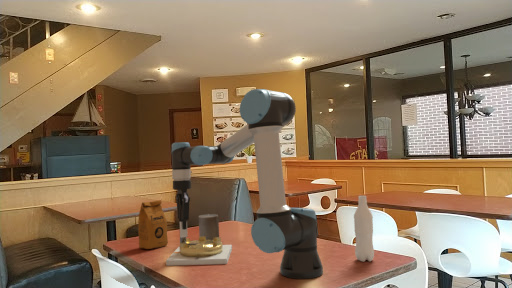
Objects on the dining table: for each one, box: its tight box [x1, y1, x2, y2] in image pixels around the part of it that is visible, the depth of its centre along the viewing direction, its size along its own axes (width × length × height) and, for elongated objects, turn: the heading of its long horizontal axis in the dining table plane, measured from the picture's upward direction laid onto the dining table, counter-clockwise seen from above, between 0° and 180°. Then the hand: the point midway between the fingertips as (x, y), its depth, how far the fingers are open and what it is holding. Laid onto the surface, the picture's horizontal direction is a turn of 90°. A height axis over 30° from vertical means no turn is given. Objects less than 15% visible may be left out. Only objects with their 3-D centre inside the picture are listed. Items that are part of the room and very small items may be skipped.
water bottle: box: [353, 195, 375, 262], centre depth 156 cm, size 7×7×25 cm
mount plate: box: [165, 244, 233, 267], centre depth 169 cm, size 24×24×2 cm
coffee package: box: [137, 199, 169, 250], centre depth 190 cm, size 10×12×22 cm
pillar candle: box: [198, 212, 220, 240], centre depth 193 cm, size 10×10×15 cm
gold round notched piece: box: [178, 235, 223, 257], centre depth 169 cm, size 18×18×10 cm
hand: (183, 236), depth 165 cm, fingers closed
